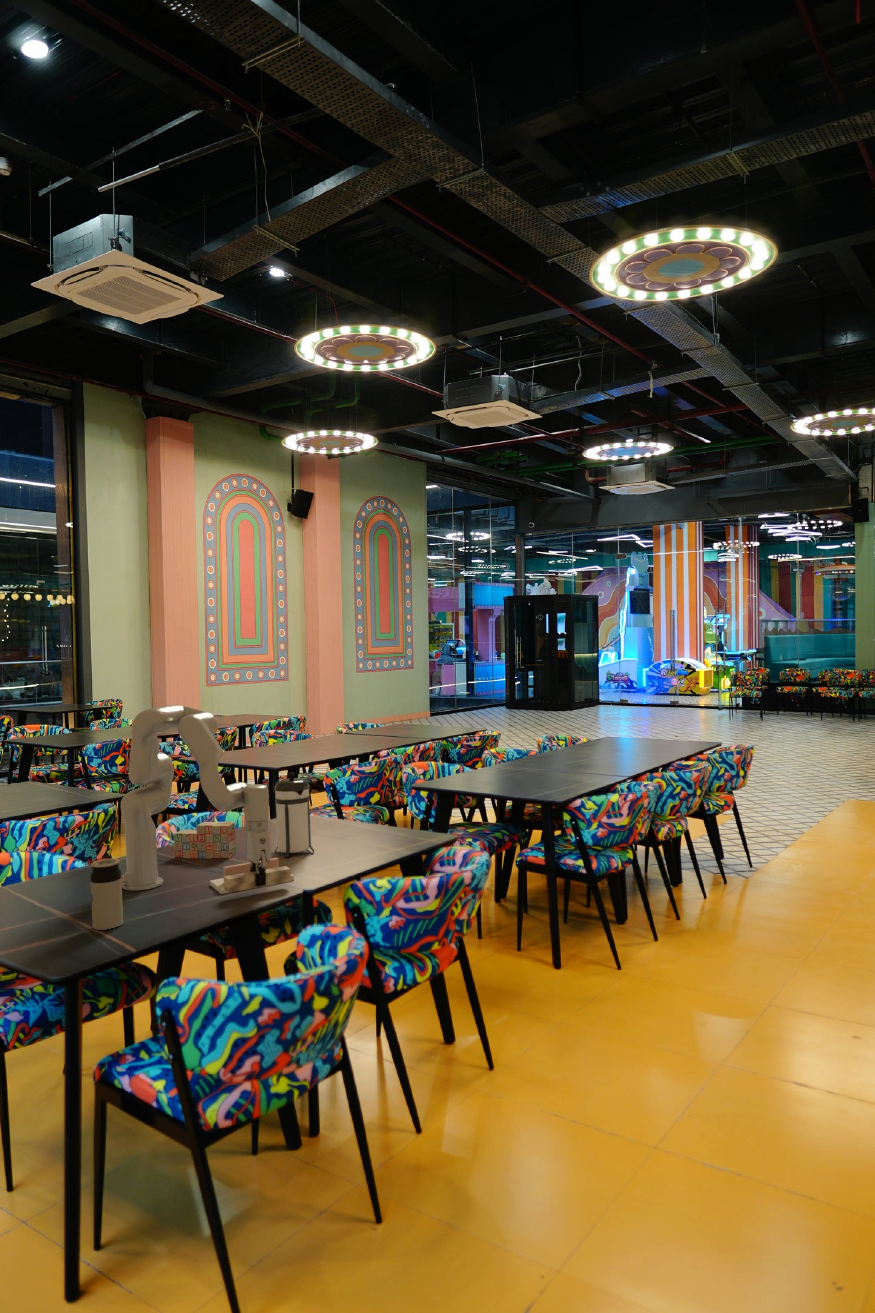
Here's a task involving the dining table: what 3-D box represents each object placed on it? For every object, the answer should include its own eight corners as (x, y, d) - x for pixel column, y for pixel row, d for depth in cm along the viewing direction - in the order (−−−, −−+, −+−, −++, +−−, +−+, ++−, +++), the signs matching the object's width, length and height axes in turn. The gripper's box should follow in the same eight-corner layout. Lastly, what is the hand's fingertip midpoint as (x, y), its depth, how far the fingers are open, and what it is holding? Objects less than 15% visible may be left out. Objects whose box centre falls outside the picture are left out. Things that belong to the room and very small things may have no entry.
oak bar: (228, 892, 251) (228, 879, 251) (224, 889, 255) (224, 876, 255) (290, 881, 262) (290, 869, 262) (286, 878, 265) (286, 866, 265)
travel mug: (127, 920, 237) (124, 857, 236) (117, 930, 229) (114, 865, 228) (99, 921, 237) (96, 858, 236) (88, 931, 229) (85, 866, 228)
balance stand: (221, 894, 259) (220, 873, 259) (210, 885, 269) (209, 865, 269) (294, 880, 271) (293, 860, 271) (280, 872, 282) (279, 853, 281)
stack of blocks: (174, 858, 306) (173, 825, 305) (182, 854, 312) (181, 821, 311) (229, 859, 302) (228, 825, 302) (236, 854, 308) (235, 821, 308)
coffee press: (322, 848, 312) (319, 768, 312) (304, 859, 297) (301, 775, 296) (280, 846, 317) (277, 768, 317) (260, 857, 302) (257, 775, 301)
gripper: (278, 828, 253) (279, 888, 253) (259, 818, 267) (260, 875, 267) (254, 832, 249) (255, 892, 249) (236, 821, 263) (237, 879, 263)
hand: (258, 883), depth 258 cm, fingers closed on oak bar, 4 cm apart
